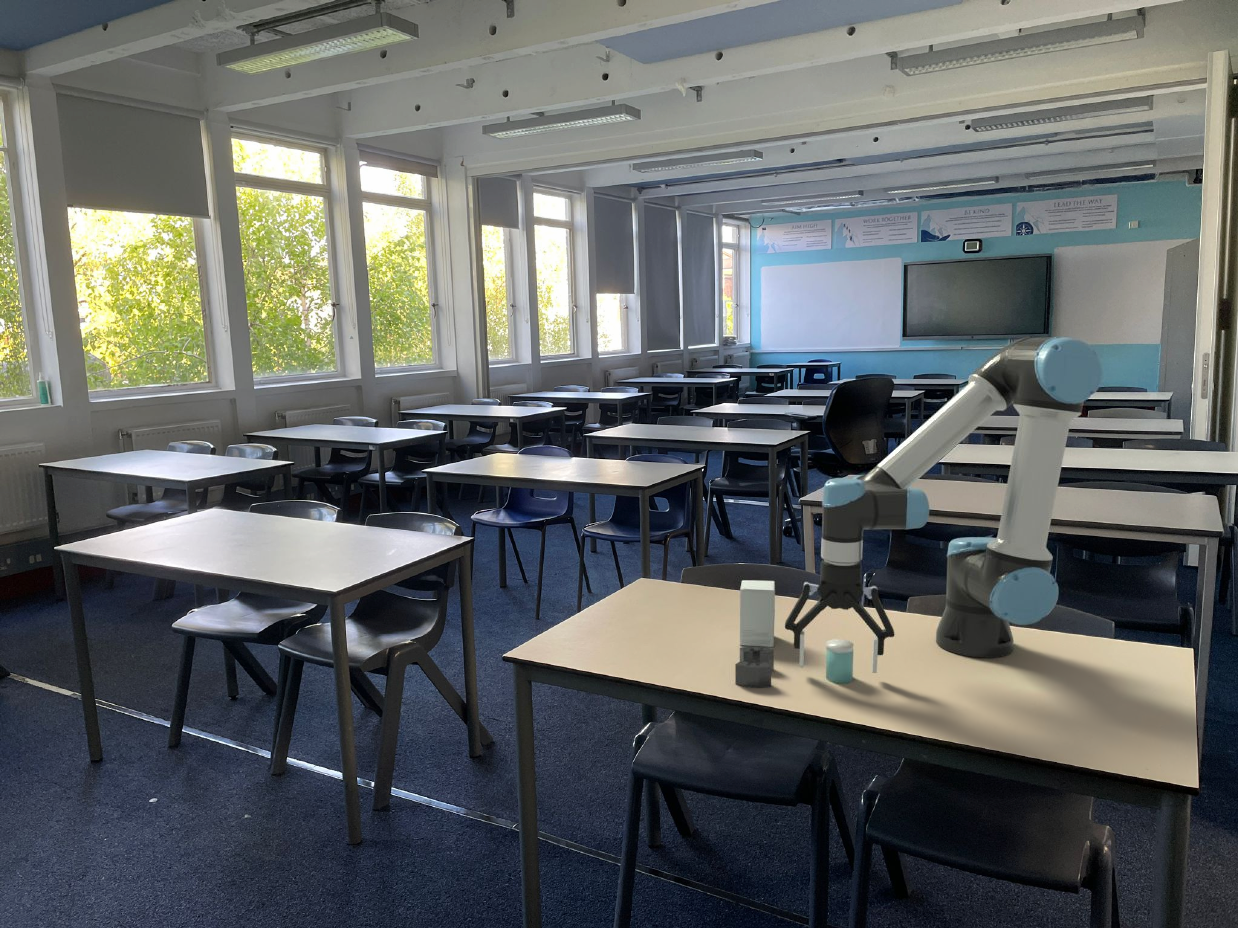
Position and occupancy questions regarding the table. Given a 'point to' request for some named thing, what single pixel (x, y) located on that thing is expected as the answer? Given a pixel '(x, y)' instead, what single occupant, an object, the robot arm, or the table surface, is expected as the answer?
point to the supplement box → (757, 613)
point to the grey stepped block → (754, 667)
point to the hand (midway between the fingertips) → (837, 667)
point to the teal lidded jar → (839, 661)
